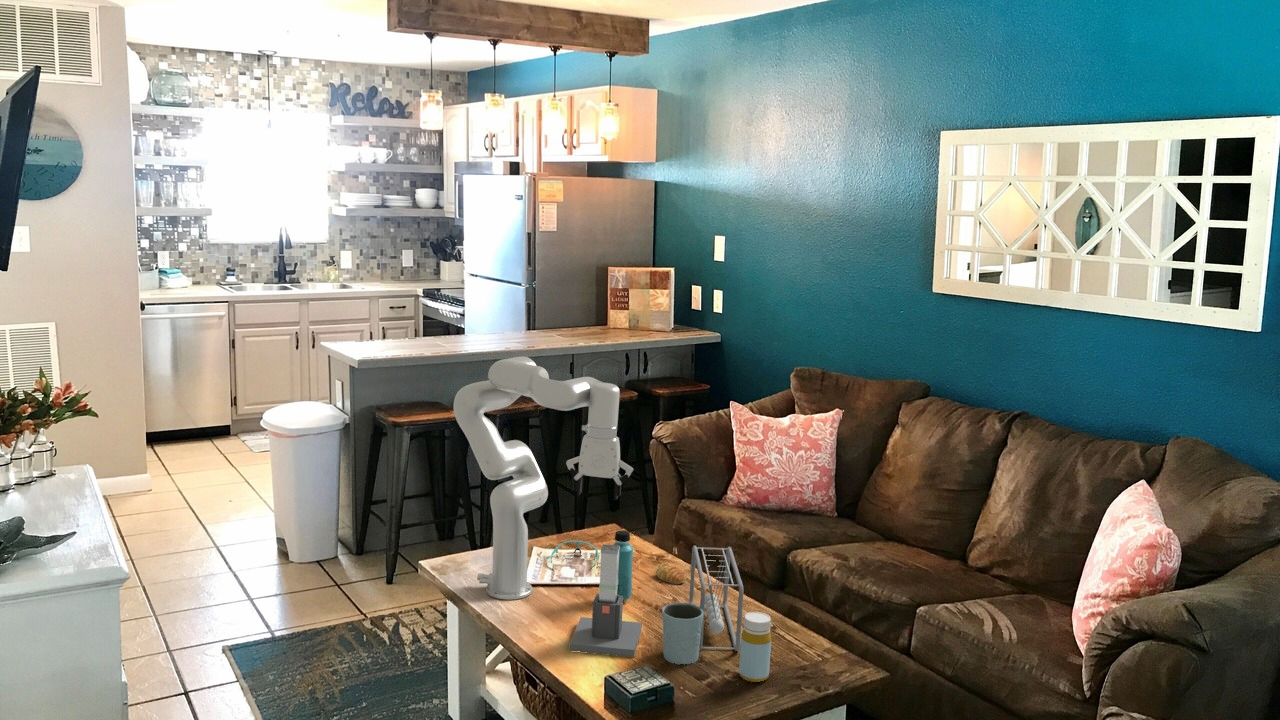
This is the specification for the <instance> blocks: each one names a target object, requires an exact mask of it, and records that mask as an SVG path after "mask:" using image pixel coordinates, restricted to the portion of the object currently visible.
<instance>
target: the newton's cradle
mask: <svg viewBox="0 0 1280 720" xmlns="http://www.w3.org/2000/svg"><path fill="white" fill-rule="evenodd" d="M699 550H701V552H702V558H703V562H704V567H705V571H706V575H707V583H706V582H705V577H704V572H703V569H702V564H701V559H700V556H699V555H700V554H699V552H698V551H699ZM704 550H715V551H716V550H717V551H718V550H720V551H722V556H721V555H718V554H717V555H715V554H713V555H711V554H709V556H712V557H713V556H716V557H721V560H720V565H719V569H718V571H716V570H715V571H714V570H713V571H711V570H710V571H709V565H708V564H707V563H708V561H711V562H712V561H713V562H715V560H711V559H710V560H708V559H706V554H705V552H704ZM723 558H724V560H723ZM722 562H723V563H722ZM722 564H723V565H722ZM730 564H731V565H732V569H733V574H734V577H735V579H736V582H737V584H734V581H733V578H732V573H731V571H730ZM721 567H722V568H721ZM724 567H725V568H724ZM696 568H697V569H696ZM696 570H697V573H698V578H699V582H700V583H699V584H700V599H699V600H700V603H699V605H697V606H698V607H700V608H701V609H702V610H703V621H702V628H701V634H700V644H699V652H700V651H701V650H703V649H705V650H706V649H709V650H710V649H711V650H714V649H715V650H734V651H735V652H736V651H737V652H740V649H741V636H742V625H743V623H742V620H743V607H744V606H743V605H744V585H743V584H744V583H743V581H742V579H741V576H740V575H741V574H740V572H739V571H740V570H739V569H738V565H737V563H736V558H735V555H734V552H733V549H732V547H731V546H728V547H727V548H723V547H699V546H698V547H697V545H693V546H692V548H691V564H690V581H689V582H690V583H689V599H688V602H689V604H693V605H694V593H695V580H696V579H695V577H696V576H695V575H696ZM720 570H721V571H720ZM723 570H724V571H723ZM711 572H712V573H717V576H716V579H715V580H716V581H715V583H712V579H711V578H712V577H711V576H710V573H711ZM719 573H720V576H719ZM722 574H723V576H722ZM718 578H719V580H718ZM721 579H722V580H721ZM717 580H718V583H717ZM723 581H724V584H723ZM730 581H731V584H729V582H730ZM720 582H721V583H720ZM706 586H708V589H709V590H708V591H709V592H708V594H706V589H707V588H706ZM713 586H714V588H713ZM719 586H720V587H719ZM722 586H723V587H722ZM716 587H717V588H716ZM729 587H738V604H737V618H736V619H737V620H736V633H735V629H734V625H733V621H732V618H731V614H730V610H729V607H728V594H729ZM715 588H716V591H715ZM721 588H722V589H721ZM718 589H719V591H718ZM721 591H722V592H721ZM714 592H715V594H714ZM717 592H718V595H717ZM720 593H721V595H720ZM719 597H720V598H719ZM722 599H723V600H722ZM721 600H722V601H721ZM721 602H722V603H721ZM720 604H721V605H720ZM705 610H706V617H707V621H708V624H709V626H708V627H709V629H710V631H711V632H712V633H714V634H720V633H722V632H723V631H724V628H725V623H724V621H723V616H722V610H724V614H725V619H726V622H727V626H728V630H729V633H730V637H731V641H732V646H733V647H720V646H719V647H718V646H717V647H716V646H703V641H704V624H705V623H704V622H705Z"/></svg>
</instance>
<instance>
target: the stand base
mask: <svg viewBox="0 0 1280 720" xmlns="http://www.w3.org/2000/svg"><path fill="white" fill-rule="evenodd" d="M623 608H624V600H623V596H619V595H617V604H613V603H601V602H599V593H596V594H595V597H594V599H593V601H592V613H591V614H592V617H584V616H580V618H579V620H578V623H577V625H576V627H575V630H574V632H573V635H572V637H571V640H570V642H569V650H570V651H580V652H587V653H586V654H591V653H596V654H595V655H601V654H609V655H608V656H612V655H614V656H613V657H622V656H625V657H624V658H633V657H634V658H635V656H636V653H637V648H638V644H639V642H640V636H641V633H642V631H643V630H642V629H643V626H642V625H643V622H638V621H637V622H636V621H630V620H629V621H627V620H623V610H624V609H623ZM570 651H569V652H570ZM580 652H579V653H580ZM635 652H636V653H635ZM616 655H617V656H616Z"/></svg>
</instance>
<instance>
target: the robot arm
mask: <svg viewBox="0 0 1280 720" xmlns="http://www.w3.org/2000/svg"><path fill="white" fill-rule="evenodd" d="M620 394H621V393H620V388H619V386H618V385H617V384H614V383H610V382H603V381H601V380H598V379H596V378H595V377H592V376H581V377H576V378H572V379H568V380H555V379H552V378H550V375H549V372H548V371H547V370H546V369H545V368H544V367H542V366H539V365H537V364H536V362H535V361H534V360H533V359H531V358H530V357H527V356H515V357H511V358H510V357H509V358H504V359H500V360H498V361H496V362H494V363H493V364H491V366H490V368H489V369H488V374H487V380H483V381H478V382H473V383H470V384H467V385H465V386H463V387H461V388H460V389H459V390H458V391H457V392H456V395H455V397H454V400H453V414H454V418H455V419H456V422H457V424H458V426H459V428H460V429H461V430H462V432H463V433H464V435H465V438H466V439H467V441H468V443H469V445H470V448H471V450H472V452H473V455H474V458H475V459H476V461H477V463H478V466H479V468H480V470H481V472H482V474H483V475H484V477H485V478H486V479H488V480H490V481H496V480H501V479H504V478H509V477H510V476H512V479H510V480H508V481H504V482H502V483H500V484H498V485H497V486H496V487H494V489H493V490H492V492H491V494H490V497H489V500H490V501H489V502H490V509H491V514H492V526H493V527H492V529H493V530H492V573H489V574H485V573H479V572H478V574H477V578H476V579H477V581H479V584H485V585H486V584H487V585H486V593H487V594H488V595H489V596H490V597H493V598H494V599H499V600H505V601H506V600H508V601H509V600H510V601H511V600H520V599H524V598H526V597H528V596H529V595H531V593H532V592H533V586H532V584H531V583H529V582H528V580H527V579H528V551H529V550H528V547H529V546H528V544H529V533H528V532H529V529H528V524H527V522H526V520H525V518H524V513H528V512H530V511H533V510H534V509H537V508H540V507H541V506H543V505H544V504H545V503H546V502H547V499H548V496H549V490H548V485H547V483H546V480H545V478H544V476H543V474H542V471H541V468H540V467H539V465H538V463H537V461H536V458H535V456H534V454H533V452H532V450H531V448H529V446H528V445H527V444H526V443H524V442H523V441H521V440H518V439H513V440H507V441H504V440H503V438H502V437H501V434H500V433H499V431H498V428H497V427H496V425H495V424H494V423H493V422H492V421H491V420H490V418H488V417H486V416H485V415H484V414H485V413H487V412H493V411H496V410H501V409H504V408H507V407H509V406H510V405H512V404H513V403H514V402H516V400H518V399H519V398H521V396H524V397H527V398H531V399H532V400H533V401H534V403H536V404H537V405H539V406H541V407H544V408H549V409H554V410H557V411H565V412H567V411H572V410H575V409H579V408H584V407H588V416H587V417H588V419H587V423H586V424H585V425H584V424H582V425H581V431H584V432H585V433H586V434H585V435H584V436H583V437H582V440H581V446H580V452H579V456H576V457H575V456H574V457H573V458H571V459H567V460H566V463H565V464H566V466H567V469H568V470H569V471H568V472H569V474H571V476H572V477H573V479H574V480H575V481H574V482H575V485H574V491H576V496H580V495H581V494H582V492H583V476H588V477H596V478H604V479H613V480H614V482H615V484H614V489H613V500H615V501H617V500H618V498H619V497H621V494H622V484H624V483H625V482H626V481H627V480H628V479H629V478H630V476H631V475H632V473H633V471H634V468H633V467H632V466H631V465H629V464H628V463H626V462H624V461H623V460H621V446H620V445H621V444H620V437H618V436H617V435H618V434H617V432H618V422H619V421H618V420H619V410H620V409H619V408H620V407H619V406H620ZM577 463H578V470H577V469H576V468H575V465H574V464H577ZM620 469H622V470H624V471H625V473H624V474H623V475H621V474H620V473H619V472H620Z"/></svg>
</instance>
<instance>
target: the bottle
mask: <svg viewBox="0 0 1280 720" xmlns="http://www.w3.org/2000/svg"><path fill="white" fill-rule="evenodd" d="M771 622H772V619H771V616H770V615H769V614H767V613H764V612H760V611H750V612H747V613H745V614H744V619H743V630H742V631H741V639H740V649H739V666H738V667H739V668H738V675H739V676H740V677H742V678H743V679H742V678H741V679H742V680H744V679H745V680H747V681H746V682H748V681H751V682H750V683H752V682H760V681H763V682H765V681H766V680H767V679H768V678H769V676H770V675H769V674H770V665H771V651H772V650H771V647H772V634H771ZM745 680H744V681H745ZM764 680H765V681H764ZM760 683H761V682H760Z"/></svg>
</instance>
